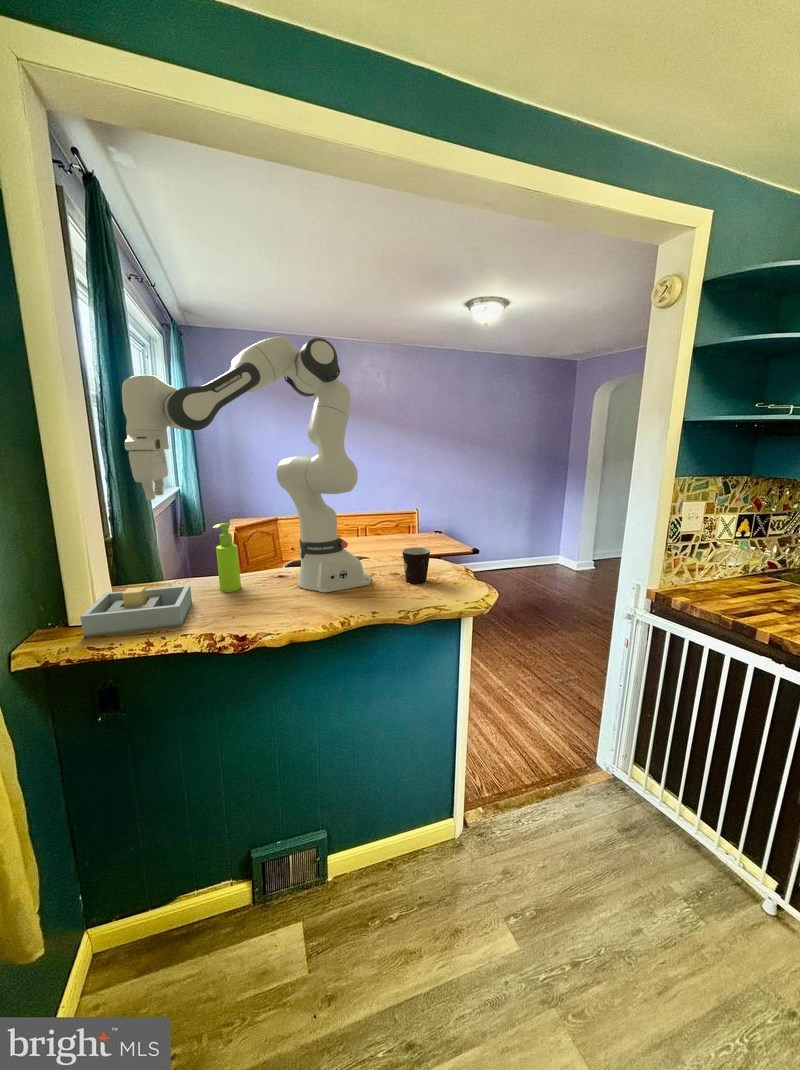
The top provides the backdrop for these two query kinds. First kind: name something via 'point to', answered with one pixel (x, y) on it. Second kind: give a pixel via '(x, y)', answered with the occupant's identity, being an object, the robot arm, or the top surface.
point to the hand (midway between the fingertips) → (155, 497)
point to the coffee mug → (416, 564)
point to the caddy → (137, 612)
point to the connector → (134, 596)
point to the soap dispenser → (227, 561)
